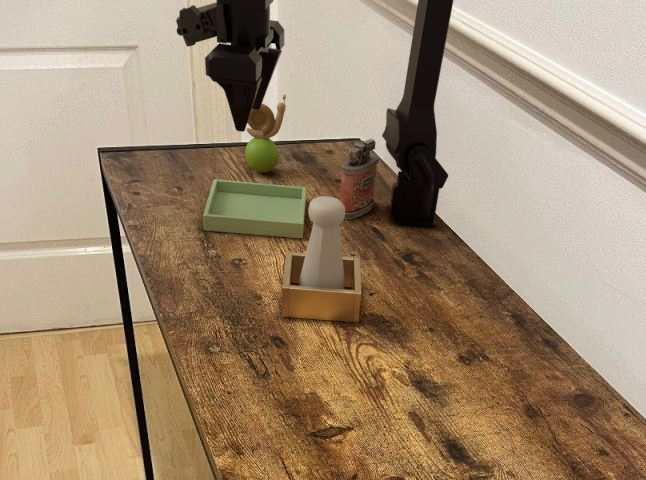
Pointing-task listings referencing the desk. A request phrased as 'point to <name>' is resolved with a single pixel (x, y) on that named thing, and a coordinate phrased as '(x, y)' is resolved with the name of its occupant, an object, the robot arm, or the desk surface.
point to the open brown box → (321, 293)
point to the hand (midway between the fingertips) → (248, 119)
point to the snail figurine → (263, 137)
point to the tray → (255, 209)
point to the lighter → (359, 179)
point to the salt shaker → (324, 245)
